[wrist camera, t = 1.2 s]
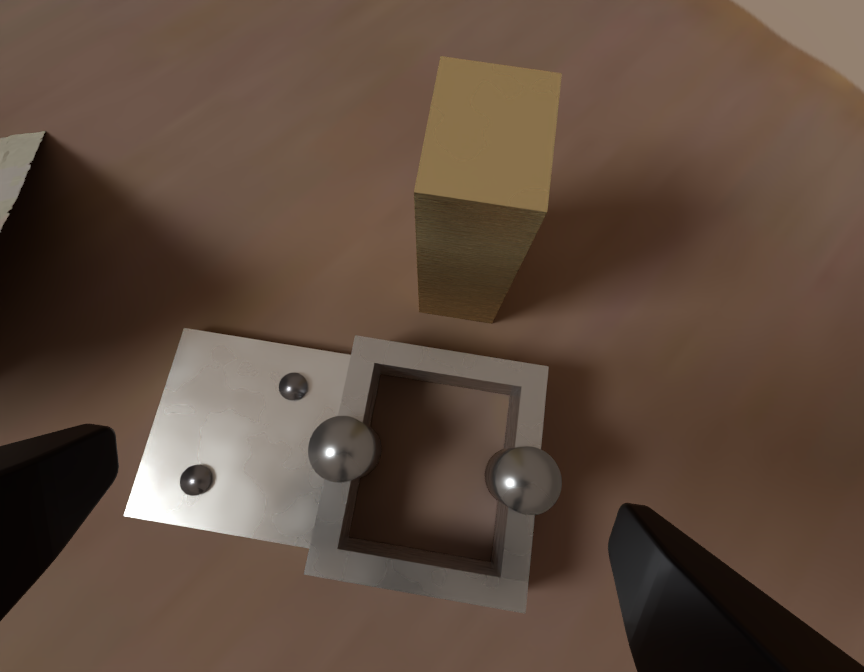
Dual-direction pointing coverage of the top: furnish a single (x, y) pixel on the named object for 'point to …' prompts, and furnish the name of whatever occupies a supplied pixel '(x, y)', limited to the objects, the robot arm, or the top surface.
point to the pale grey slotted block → (15, 167)
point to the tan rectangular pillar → (482, 183)
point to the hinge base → (333, 458)
